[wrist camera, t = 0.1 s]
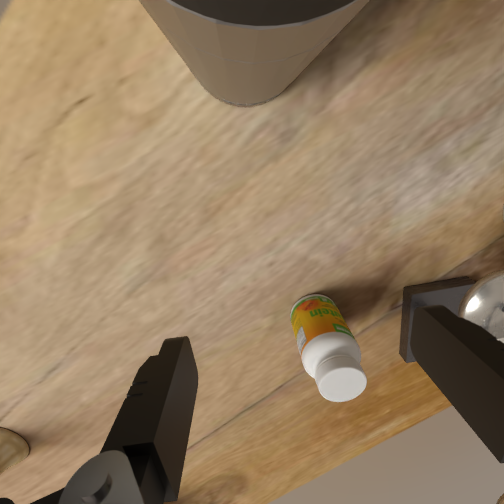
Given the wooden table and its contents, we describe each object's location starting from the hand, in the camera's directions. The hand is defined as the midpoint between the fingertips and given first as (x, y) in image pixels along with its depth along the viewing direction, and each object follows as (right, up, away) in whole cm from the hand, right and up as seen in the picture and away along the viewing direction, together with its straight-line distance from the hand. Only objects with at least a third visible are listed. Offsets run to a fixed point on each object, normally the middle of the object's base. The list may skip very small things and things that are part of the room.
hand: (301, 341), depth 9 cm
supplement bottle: (+5, -4, +21) cm, 22 cm away
